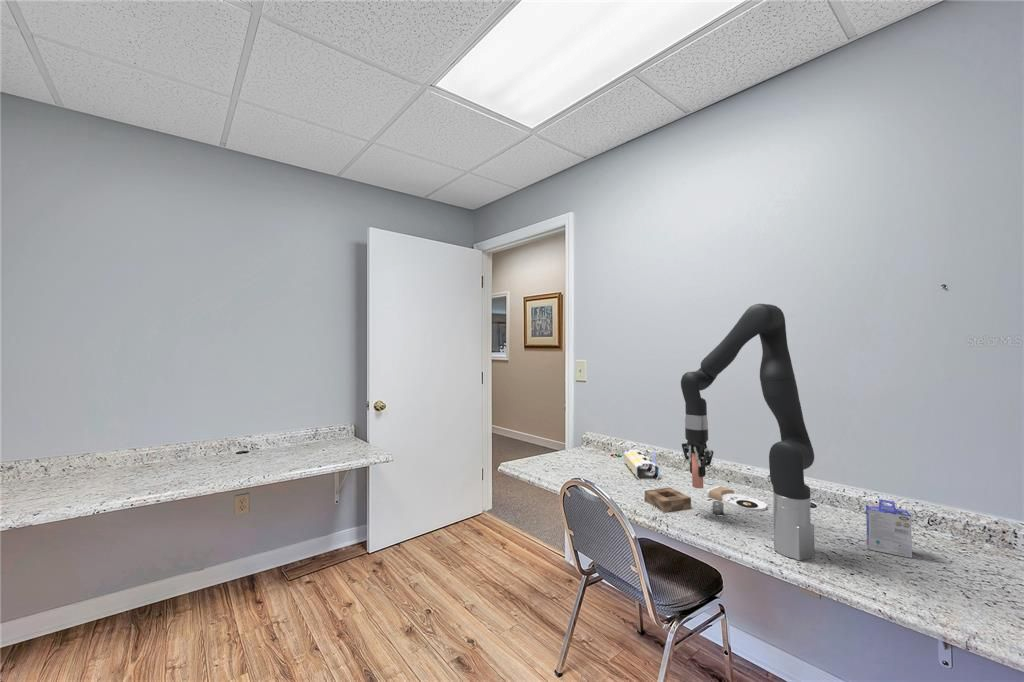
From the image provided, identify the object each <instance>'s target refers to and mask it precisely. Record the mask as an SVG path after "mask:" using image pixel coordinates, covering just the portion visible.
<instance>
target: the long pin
mask: <svg viewBox="0 0 1024 682" xmlns="http://www.w3.org/2000/svg"><path fill="white" fill-rule="evenodd" d="M699 457H703V456H699ZM701 463H702V460H701ZM698 466H699V465H698V460H697V459H696V455H695V453H692V474H691V477H692V478H691V481H692V482H691V483H692V485H691V486H692V488H694V489H704V477H699V474H698Z"/></svg>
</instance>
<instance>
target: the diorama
mask: <svg viewBox="0 0 1024 682" xmlns="http://www.w3.org/2000/svg"><path fill="white" fill-rule="evenodd" d="M652 450H653V451H652V459H651V458H650V457H648V455H647V454H646V453H644V451H641V450H639V449H637V448H635V449H631V448H630V449H628V451H627V450H625V451H624V452H623V462H624V463H625V464H627V465H626V466H627V467H628V469H629V470H630V469H631V470H632V471H631V470H630V471H631V472H632V473H633V475H634V474H635V475H634V476H635V478H636V479H637V480H638V479H639V480H640V477H639V476H638V468H639V467H644V466H645V467H646V466H647V465H648V467H647V468H646V470H648V471H649V472H652V471H653V470H654V474H653V475H652V477H653V478H654V479H655V480H656V479H657V480H658V479H659V477H660V467H659V466H658V465H657V455H656V451H655V449H652ZM648 471H647V472H648ZM649 472H648V473H649Z"/></svg>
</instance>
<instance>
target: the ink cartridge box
mask: <svg viewBox="0 0 1024 682" xmlns="http://www.w3.org/2000/svg"><path fill="white" fill-rule="evenodd" d="M884 503H885V504H884ZM886 503H887V505H886ZM888 504H890V505H888ZM865 516H866V518H865V520H866V546H867V549H868V550H870V551H876V552H880V553H885V554H888V555H889V554H890V555H895V556H900V557H906V558H911V559H912V557H913V547H912V546H913V544H912V543H913V541H912V540H913V539H912V515H911V514H910V513H909V511H908V510H905V509H899V508H896V503H895V501H894V500H893V501H892V500H887V499H880V498H879V499H878V506H877V505H869V504H865Z"/></svg>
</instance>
